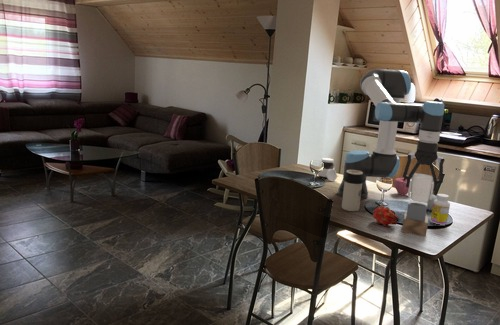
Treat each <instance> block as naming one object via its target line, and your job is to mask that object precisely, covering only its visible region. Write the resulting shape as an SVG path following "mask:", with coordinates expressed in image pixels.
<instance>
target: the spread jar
mask: <svg viewBox="0 0 500 325" xmlns="http://www.w3.org/2000/svg"><path fill="white" fill-rule="evenodd" d="M321 162H323V163H324V168H323V171H321V172H320V173H319V174H317V175H318V176H317V177H318V178H320V179H321V178H323V179H322V180H326V179H327V180H328V181H329V182H335V181H336V179H337V177H338V174H337V172H336V170H335V163H334V158H330V157H321ZM327 180H326V181H327Z"/></svg>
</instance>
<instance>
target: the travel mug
mask: <svg viewBox="0 0 500 325" xmlns="http://www.w3.org/2000/svg"><path fill="white" fill-rule="evenodd" d="M346 172H347V175H346V177H345V182H344V191H343V197H342V202H341V208H342V209H343V210H345V211H348V212H358V211H359V210H360V204H361V199H360V198H361V190H362V182H363V179H362V174H363V172H361V171H358V170H347V171H346Z"/></svg>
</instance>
